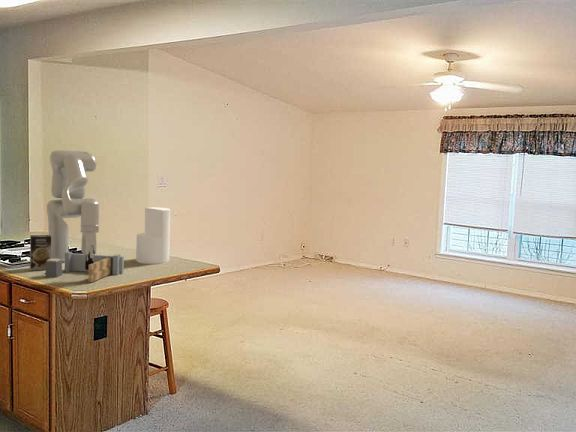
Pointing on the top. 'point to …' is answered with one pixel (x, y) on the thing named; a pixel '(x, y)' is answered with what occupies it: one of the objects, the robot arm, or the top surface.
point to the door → (100, 269)
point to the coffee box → (39, 251)
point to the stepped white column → (154, 237)
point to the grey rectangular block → (53, 267)
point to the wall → (78, 262)
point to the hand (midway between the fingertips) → (89, 269)
